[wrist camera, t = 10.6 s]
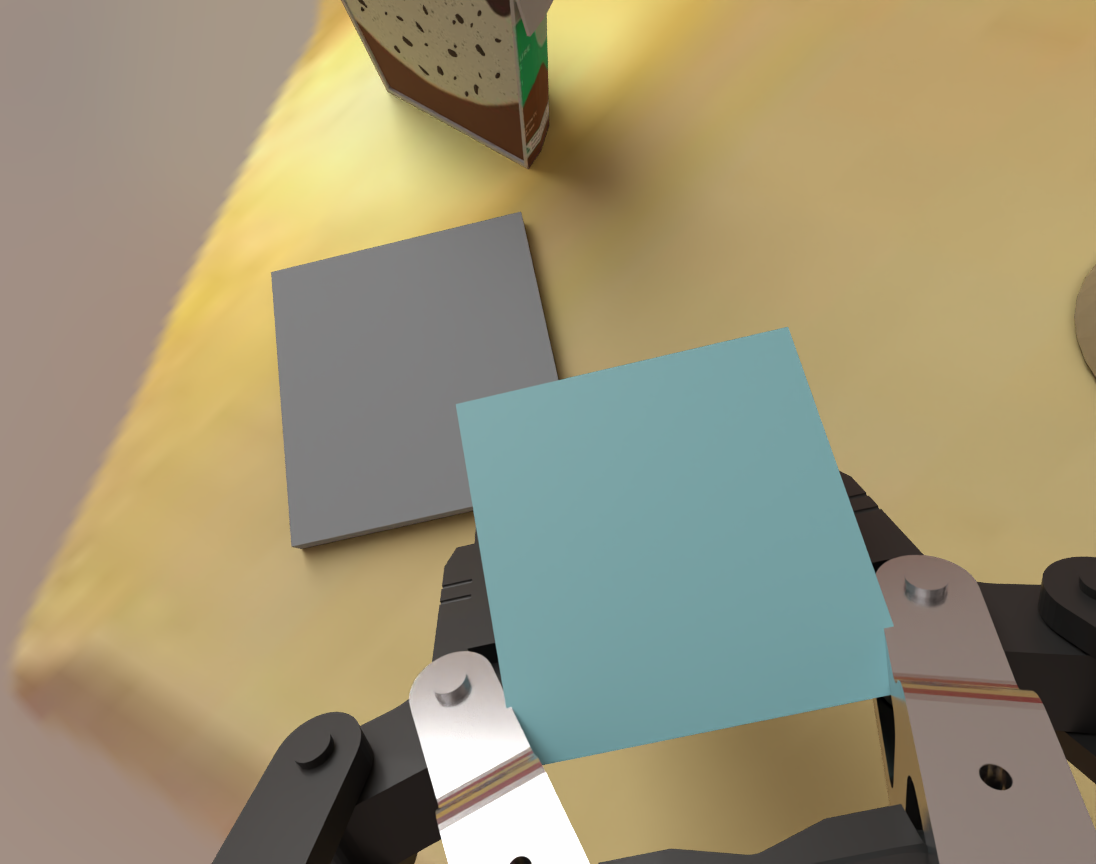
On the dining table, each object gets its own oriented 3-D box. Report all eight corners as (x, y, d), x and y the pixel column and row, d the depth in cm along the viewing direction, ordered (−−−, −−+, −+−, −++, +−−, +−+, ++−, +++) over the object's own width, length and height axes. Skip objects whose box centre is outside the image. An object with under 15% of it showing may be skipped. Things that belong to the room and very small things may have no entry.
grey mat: (523, 222, 30) (520, 211, 29) (582, 486, 26) (581, 482, 25) (279, 280, 31) (271, 272, 30) (301, 548, 27) (291, 546, 26)
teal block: (705, 477, 19) (788, 326, 9) (756, 653, 17) (916, 689, 8) (540, 514, 19) (455, 403, 10) (575, 691, 18) (516, 771, 8)
